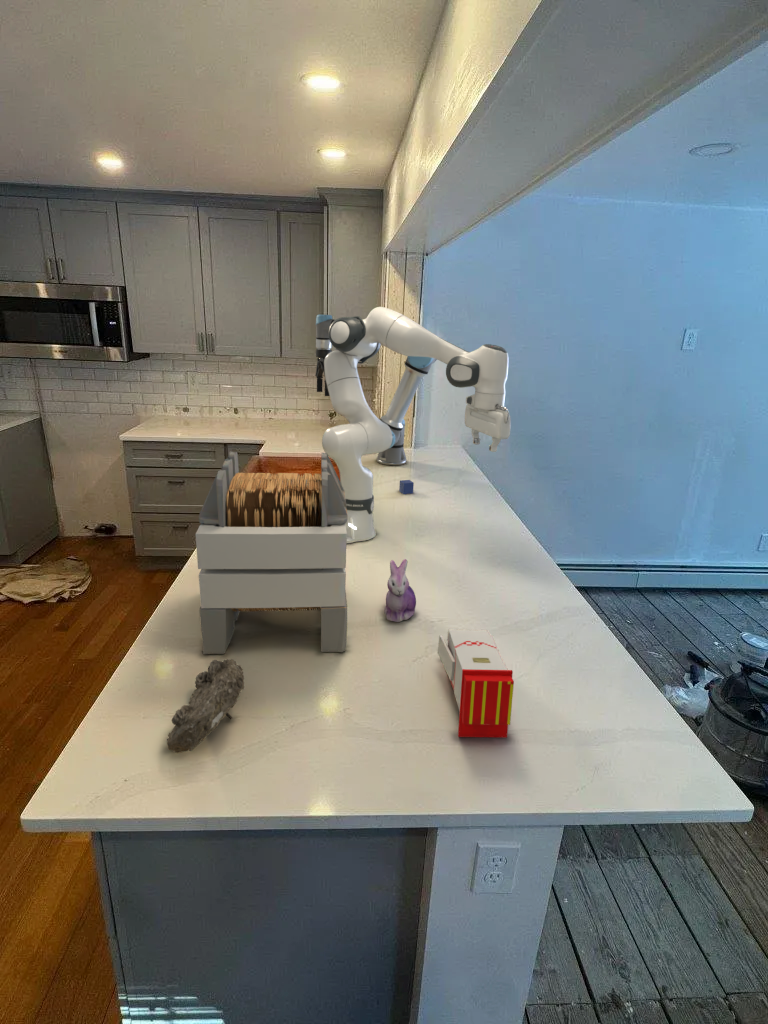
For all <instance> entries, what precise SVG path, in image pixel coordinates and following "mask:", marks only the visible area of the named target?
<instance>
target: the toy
mask: <svg viewBox="0 0 768 1024" xmlns="http://www.w3.org/2000/svg"><path fill="white" fill-rule="evenodd" d="M446 640H447V643H446V641H445V639H444V636H443V635H442V634H439V637H438V646H437V656H438V657H439V659H440V661H441V663H442V666H443V668H444V670H445V672H446V674H447V677H448V679H449V681H450V684H451V687H452V690H453V693H454V697H455V701H456V705H457V708H458V711H459V714H458V715H459V716H458V730H457V731H458V732H457V737H458V738H508V731H509V726H510V725H511V717H512V707H513V697H514V696H513V695H514V684H515V680H514V679H513V673H514V671H513V670H512V669H508V667H507V665H506V662H505V661H504V659H503V658H502V655H501V653H500V651H499V649H498V647H497V643H496V639H495V637H494V635H493V634H491V632H490V631H489V629H467V628H466V629H465V628H463V629H461V628H460V629H459V628H448V630H447V639H446Z"/></svg>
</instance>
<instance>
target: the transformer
mask: <svg viewBox="0 0 768 1024" xmlns="http://www.w3.org/2000/svg"><path fill="white" fill-rule="evenodd" d="M320 456H321V462H320V463H321V467H320V469H321V470H320V471H321V472H320V473H314V474H313V473H297V472H289V473H288V472H277V473H275V472H274V473H270V472H266V473H265V472H247V473H246V472H240V471H239V469H240V468H239V455H238V451H232V450H231V451H229V453H228V455H227V458H224V461H223V464H222V466H221V468H220V469H219V470H218V471H217V473H216V476H215V477H214V480H213V482H212V484H211V487H210V488H209V490H208V494H207V495H206V498H205V500H204V502H203V505H202V506H201V509H200V512H199V514H198V522H199V524H200V525H199V526H198V529H197V530H196V532H195V546H196V561H197V570H200V571H199V573H198V586H199V599H200V600H199V601H200V607H199V621H200V623H199V624H200V632H201V641H202V651H201V653H202V654H203V655H208V656H210V654H213V655H214V654H216V655H220V654H221V655H222V654H223V655H225V654H226V652H227V649H228V647H229V644H230V642H231V640H232V637H233V636H234V632H235V622H238V618H239V615H240V612H266V611H267V612H278V611H280V612H289V611H295V610H296V611H320V652H321V653H324V652H325V653H326V652H329V653H330V652H332V653H333V652H339V653H344V652H345V651H347V642H348V640H347V639H348V637H347V636H348V600H347V592H346V590H347V589H346V579H347V572H346V571H347V570H346V568H347V543H346V541H347V532H346V524H345V523H347V519H348V514H347V506H346V499H345V491H344V489H343V487H342V484H341V482H340V477H339V476H338V473H337V472H336V470H335V467H334V465H333V462H332V461H331V458H330V457H329V456H328V454H327V453H325V452H321V455H320Z"/></svg>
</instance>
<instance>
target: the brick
mask: <svg viewBox="0 0 768 1024" xmlns="http://www.w3.org/2000/svg"><path fill="white" fill-rule="evenodd" d="M414 484H415V482H414V481H412V480H411V479H403V480H399V487H398V489H399V490H398V491H399V492H400V493H401V494H402V495H411V494H414V486H415V485H414Z"/></svg>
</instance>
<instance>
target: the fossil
mask: <svg viewBox="0 0 768 1024" xmlns="http://www.w3.org/2000/svg"><path fill="white" fill-rule="evenodd" d="M243 670H244V669H243V667H242V665H240V664H237V662H236V661H235V660H234V659H232V658H231V659H227V658H226V659H224V660H223V661H222V660H217V659H212V660H211V661H210V663H209V665H208V666H207V671H201V672H199V673H198V674H197V675H196V676H195V680H194V684H195V685H194V687H195V689H194V690H193V693H192V694H191V697H190V698H189V700H188V704H184V705H182V706H181V707H180V709H177V710H176V711H175V713H174V715H173V716H172V718H171V723H172V724H173V727H172V730H171V731H170V732H168V734H167V738H166V741H167V742H166V745H167V749H168V750H169V751H173V752H174V753H176V754H178V753H182V752H188V751H189V752H192V751H193V750H195V748H196V747H197V746H199V744H200V743H201V742H203V741H204V740H205V739H206V738H207V737H208V736H209V735H210V734H211V733H212V732H214V730H215V729H217V727H218V726H219V724H220V722H221V721H222V720H223V719H224V718H225V716H226V717H227V719H229V720H233V717H232V715H230V714H229V710H230V709H231V708H234V706H235V704H236V703H237V702H238V699H239V697H240V695H241V693H242V691H243V690H245V689H244V688H245V675H244V671H243Z"/></svg>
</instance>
